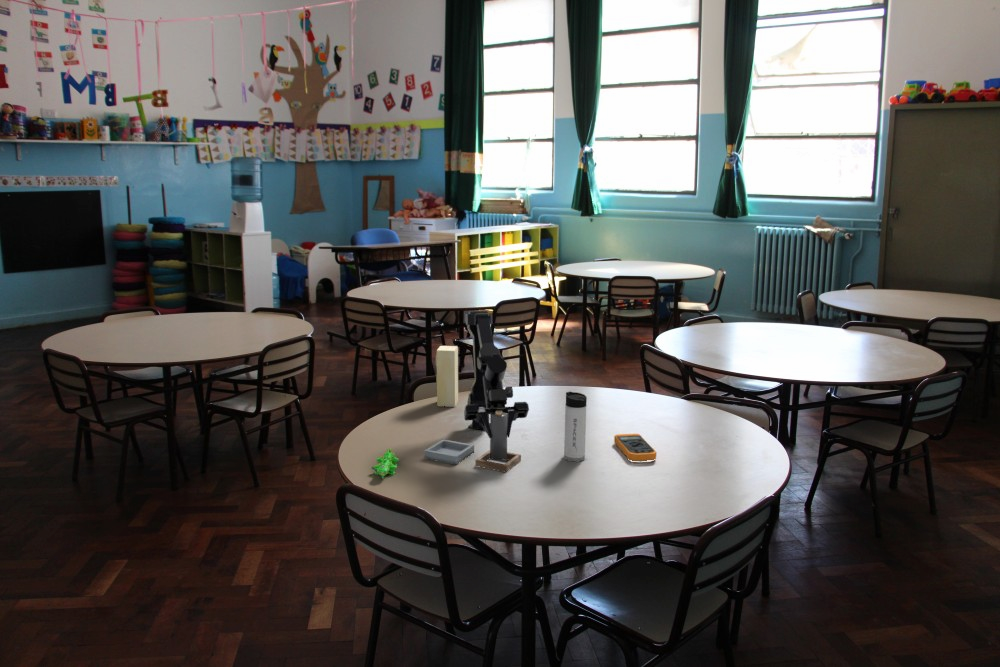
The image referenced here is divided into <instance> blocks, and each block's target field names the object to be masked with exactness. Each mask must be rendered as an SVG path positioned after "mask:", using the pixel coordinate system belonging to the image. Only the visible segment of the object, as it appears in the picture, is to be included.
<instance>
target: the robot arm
mask: <svg viewBox="0 0 1000 667" xmlns="http://www.w3.org/2000/svg"><path fill="white" fill-rule="evenodd" d="M464 320H465V325H466V326H467V331H468V333H469V334H470V336H471V337H472V348H473V349H472V353H473V371H474V372H473V374H474V375H473V376H474V381H473V383H472V385H471V387H470V392H469V393H468V397H467V403H466V404H465V406H464V412H463V416H464V420H465V421H471V424H469V425H467V428H470V429H475V430H479V431H484V432H485V433H486V435H487V437H488V438H489V439H490V438H491V430H490V414H491V413H494V412H496V411H497V410H500V411H502V412H503V413H506V414H507V415H508V416H507V438H510V436H511V429H512V424H513V422H514V421H516V420H518V419H526V418H527V416H528V414H529V411H530V408H529V403H528V402H527V401H515V402H514V403H513V405H512V406H506V405H507V404H508V399H512V398H513V397H514V391H513V386H506V387H505V388H504V387H503V385H504V384H503V380H504V378H505V374H506V371H507V368H508V364H507V361H506V360H505V358H504V356H502V355H501V354H502V353H501V351H500V349H499V348H498V347H497V346H496V345H495V341H494V336H493V331H492V326H491V325H493V313H489V312H488V310H469V311H468V313H466V314H465V318H464Z"/></svg>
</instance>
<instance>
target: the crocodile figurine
mask: <svg viewBox="0 0 1000 667" xmlns="http://www.w3.org/2000/svg"><path fill="white" fill-rule="evenodd" d="M386 450H387V451H386V452H383V455H380V456H379V457H378V458H376V462H377V464H375V465H374V466H373V469H374V470H376V471H375V472H374V474H375V475H379V476H381V477H380V478H381V479H385V478H386V477H385V476H386V475H388V474H389V475H395V474H396V471H395V470H396V469H397V468H398V464H397V463H398V462H399V461H400V458H398V457H397V456H396V454H395V453H394V452H392V448H391V447H389V448H388V449H386Z"/></svg>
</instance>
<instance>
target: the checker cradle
mask: <svg viewBox="0 0 1000 667" xmlns="http://www.w3.org/2000/svg"><path fill="white" fill-rule="evenodd" d="M489 458H490V449H489V450H487V451H486V452H485V453H483V454H482V455H481V456H479V457H477V458H476V459H475V460H474V461H475V467H476V466H480V467H479V468H481V467H485V468H484V469H486V468H489V469H488V470H491V469H495V470H494V471H496V470H499V471H498V472H501V471H505V472H504V473H508V472H509V471H510V470H511V469H513V468H514V467H515V466H517V465H518V464H519V463H521V461H522V455H521V453H520V454H518V453H513V452H508V451H507V458H506V459H509V460H507V462H506V463H501V462H496V461H490V459H491V458H490V459H489ZM488 459H489V460H488ZM487 460H488V461H487ZM517 463H518V464H517ZM516 464H517V465H516ZM513 466H514V467H513ZM512 467H513V468H512ZM509 469H510V470H509ZM508 470H509V471H508ZM507 471H508V472H507Z"/></svg>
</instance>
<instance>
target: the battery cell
mask: <svg viewBox="0 0 1000 667" xmlns="http://www.w3.org/2000/svg"><path fill="white" fill-rule="evenodd" d="M507 416H508V415H507V413H503V412H502V411H500V410H497V411H496V412H494V413H491V414H489V423H490V430H491V438H489V450H490V459H491V460H495V461H503V460H505V459H506V458H507V452H508V437H507Z"/></svg>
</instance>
